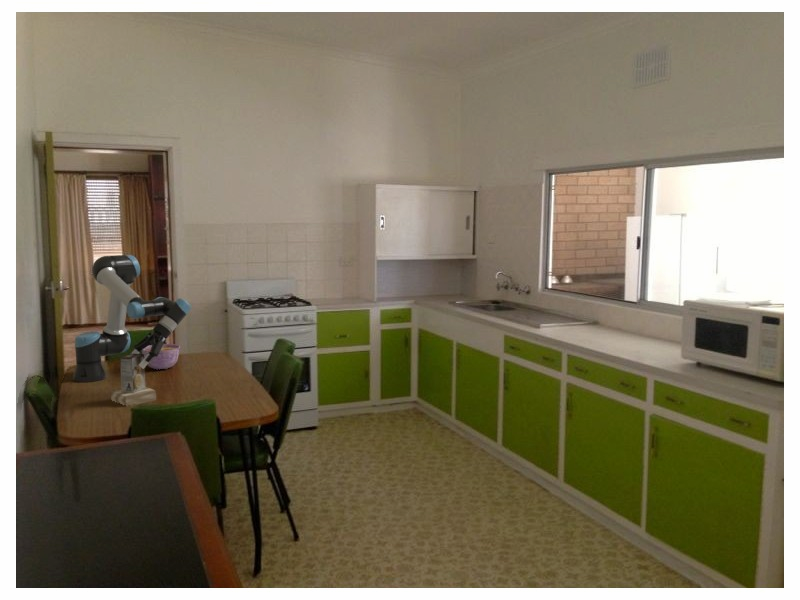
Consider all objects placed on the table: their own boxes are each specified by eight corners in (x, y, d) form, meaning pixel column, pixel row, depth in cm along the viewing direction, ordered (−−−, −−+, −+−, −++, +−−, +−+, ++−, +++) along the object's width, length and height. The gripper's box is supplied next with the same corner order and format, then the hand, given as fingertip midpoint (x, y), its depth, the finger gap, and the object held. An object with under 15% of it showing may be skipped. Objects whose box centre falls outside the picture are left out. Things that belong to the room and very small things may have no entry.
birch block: (111, 401, 303) (110, 390, 302) (140, 395, 313) (140, 385, 312) (126, 407, 293) (125, 396, 293) (156, 401, 304) (155, 390, 303)
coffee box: (133, 387, 308) (132, 353, 306) (145, 388, 307) (144, 354, 305) (120, 392, 299) (119, 357, 297) (133, 393, 298) (132, 358, 296)
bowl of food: (188, 367, 369) (188, 346, 367) (158, 374, 352) (157, 352, 350) (164, 362, 379) (164, 342, 378) (134, 369, 363) (133, 348, 361)
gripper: (183, 336, 303) (152, 374, 295) (158, 329, 321) (128, 364, 312) (171, 326, 299) (140, 364, 290) (147, 319, 316) (116, 355, 308)
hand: (134, 364), depth 301 cm, fingers open, 13 cm apart
